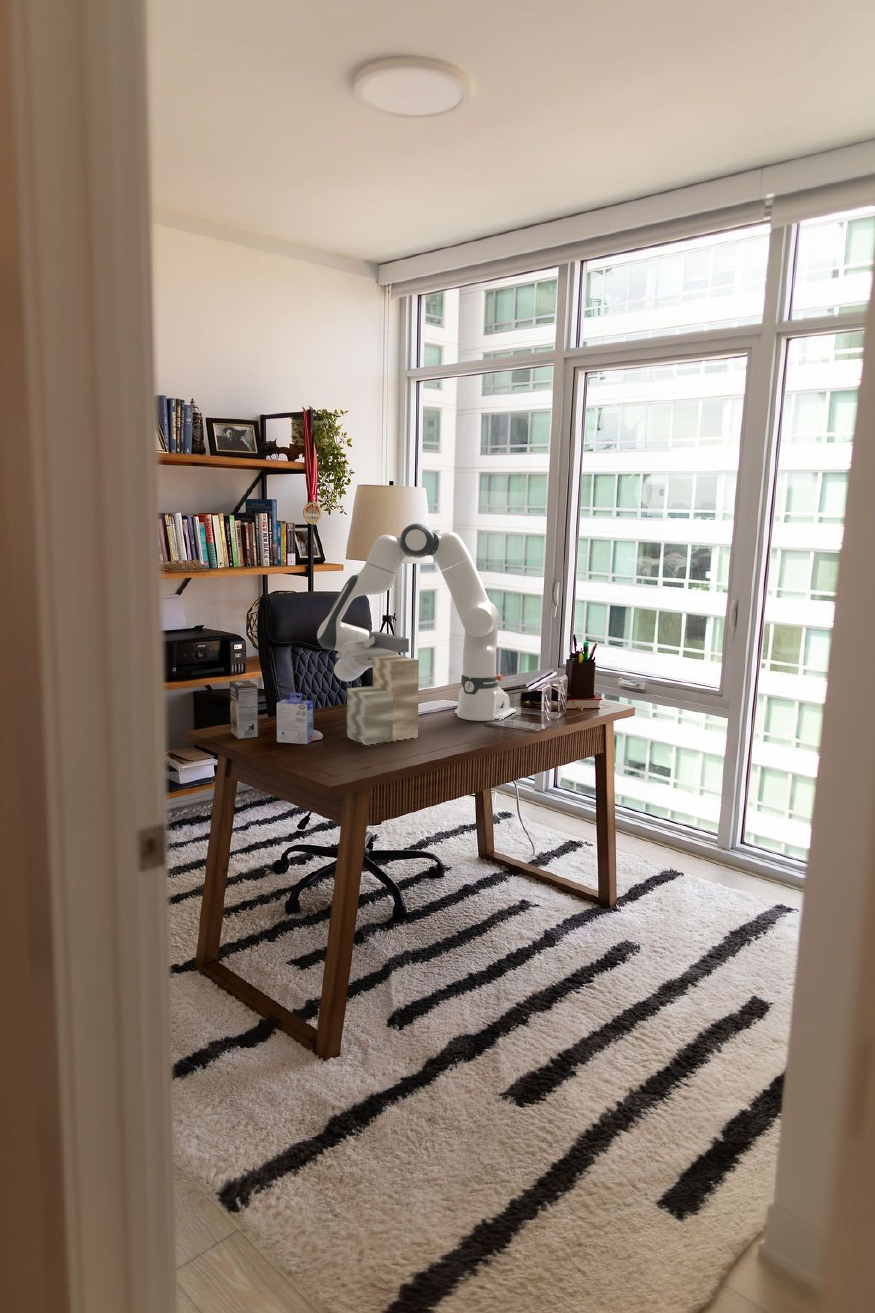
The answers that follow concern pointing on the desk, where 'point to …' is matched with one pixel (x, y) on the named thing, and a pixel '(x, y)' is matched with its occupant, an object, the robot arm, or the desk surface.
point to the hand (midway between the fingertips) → (381, 638)
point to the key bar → (390, 642)
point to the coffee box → (244, 709)
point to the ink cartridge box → (295, 720)
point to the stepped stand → (385, 702)
